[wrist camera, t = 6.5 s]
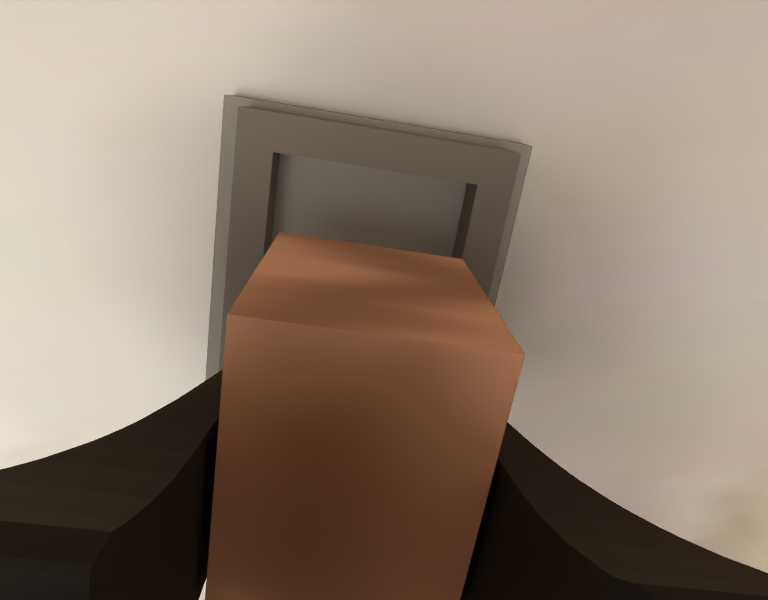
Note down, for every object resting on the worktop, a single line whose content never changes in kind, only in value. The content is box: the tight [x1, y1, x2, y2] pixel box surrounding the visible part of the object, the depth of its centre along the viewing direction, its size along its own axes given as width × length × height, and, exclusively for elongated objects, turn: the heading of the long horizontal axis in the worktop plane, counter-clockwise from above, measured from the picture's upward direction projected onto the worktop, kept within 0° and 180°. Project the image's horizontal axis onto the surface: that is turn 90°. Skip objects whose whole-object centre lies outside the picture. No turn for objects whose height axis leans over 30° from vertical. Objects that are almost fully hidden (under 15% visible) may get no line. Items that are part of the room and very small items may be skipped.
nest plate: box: [206, 95, 532, 380], centre depth 18 cm, size 12×9×3 cm
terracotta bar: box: [205, 232, 525, 600], centre depth 11 cm, size 4×7×5 cm, turn 171°
